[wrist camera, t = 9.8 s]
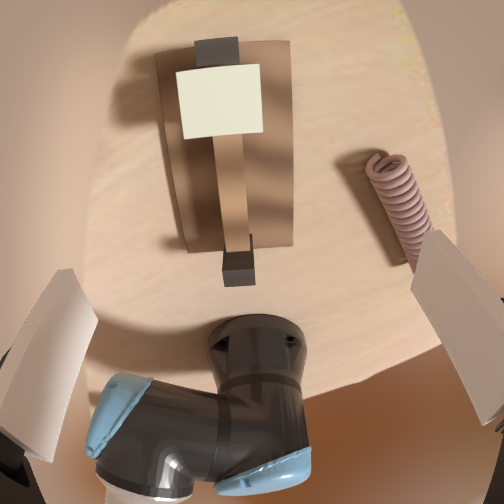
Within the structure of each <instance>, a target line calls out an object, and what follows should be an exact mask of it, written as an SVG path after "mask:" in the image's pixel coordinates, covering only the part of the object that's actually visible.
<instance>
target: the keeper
mask: <svg viewBox="0 0 504 504" xmlns="http://www.w3.org/2000/svg"><path fill="white" fill-rule="evenodd" d="M176 77H177V86H178V95H179V103H180V111H181V119H182V127H183V134H184V139H192V138H200V137H210V136H220V135H231V134H244V133H260V132H263V119H262V101H261V83H260V67H259V64H245V65H232V66H221V67H211V68H202V69H194V70H188V71H181V72H176Z"/></svg>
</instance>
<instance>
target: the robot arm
mask: <svg viewBox="0 0 504 504" xmlns="http://www.w3.org/2000/svg"><path fill="white" fill-rule="evenodd" d="M411 291H412V293H413V294H414V296H415V297H416V299H417V301H418V302H419V304H420V306H421V307H422V309H423V311H424V312H425V314H426V316H427V317H428V319H429V321H430V323H431V324H432V326H433V328H434V330H435V331H436V333H437V335H438V337H439V338H440V340H441V342H442V344H443V345H444V347H445V349H446V351H447V353H448V355H449V357H450V359H451V360H452V363H453V365H454V366H455V368H456V370H457V372H458V374H459V376H460V378H461V380H462V383H463V385H464V387H465V389H466V391H467V393H468V395H469V397H470V399H471V402H472V404H473V406H474V408H475V411H476V413H477V415H478V417H479V420H480V422H481V424H482V426H483V425H485V424H487V423H489V422H491V421H493V420H494V419H496V418H498V417H499V416H500V415H501V414H502V413H503V412H504V298H499V296H498V295H497V294H496V293H495V291H494V290H493V289H492V288H491V286H490V285H489V284H488V283H487V281H486V280H485V279H484V278H483V277H482V276H481V274H480V273H479V272H478V271H477V270H476V269H475V267H474V266H473V265H472V264H471V263H470V262H469V260H468V259H467V258H466V257H465V256H464V255H463V254H462V253H461V252H460V250H459V249H458V248H457V247H456V246H455V245H454V244H453V243H452V242H451V241H450V240H449V239H448V238H447V237H446V236H445V235H444V233H443V232H442V231H441V230H435V231H425V232H424V236H423V241H422V245H421V250H420V254H419V258H418V262H417V266H416V270H415V274H414V278H413V282H412V285H411ZM97 323H98V319H97V317H96V315H95V313H94V311H93V310H92V308H91V306H90V304H89V302H88V300H87V298H86V296H85V294H84V292H83V290H82V288H81V286H80V284H79V282H78V280H77V278H76V276H75V274H74V271H73V269H64V270H57V272H56V273H55V275H54V276H53V278H52V279H51V281H50V282H49V284H48V285H47V287H46V288H45V290H44V291H43V293H42V295H41V296H40V298H39V300H38V301H37V303H36V304H35V306H34V308H33V310H32V311H31V313H30V315H29V316H28V318H27V320H26V321H25V323H24V325H23V327H22V329H21V330H20V332H19V334H18V336H17V338H16V339H15V341H14V343H13V345H12V347H11V348H10V349H9V350H8V351H7V353H6V354H5V355H4V356H3V357H2V359H1V361H0V504H46V503H45V501H44V498H43V496H42V494H41V492H40V489H39V487H38V484H37V482H36V479H35V477H34V474H33V471H32V469H31V466H30V463H29V461H28V459H27V458H26V457H25V456H24V452H25V451H26V452H28V453H29V454H31V455H32V456H34V457H35V458H37V459H41V460H43V461H46V462H50V463H52V462H53V458H54V454H55V450H56V446H57V442H58V438H59V434H60V430H61V427H62V423H63V420H64V417H65V413H66V410H67V406H68V403H69V400H70V397H71V394H72V391H73V388H74V385H75V382H76V378H77V376H78V373H79V370H80V368H81V364H82V362H83V359H84V357H85V354H86V351H87V348H88V346H89V343H90V341H91V338H92V336H93V333H94V331H95V328H96V326H97ZM207 356H208V361H209V364H210V368H211V371H212V374H213V377H214V380H215V383H216V386H217V389H218V393H217V394H214V393H209V392H204V391H200V390H195V389H190V388H186V387H181V386H177V385H173V384H169V383H165V382H161V381H157V380H153V378H151V377H149V378H144V377H140V376H136V375H131V374H127V373H118V374H116V375H114V376H113V377H112V378H111V379H110V380H109V381H108V383H107V384H106V386H105V388H104V390H103V392H102V394H101V396H100V399H99V401H98V403H97V406H96V409H95V411H94V414H93V417H92V420H91V423H90V426H89V430H88V433H87V438H86V446H85V453H86V455H88V456H89V457H91V459H94V460H95V459H97V464H96V475H97V477H98V478H99V479H100V481H101V482H102V483H103V484H104V485H105V486H106V498H105V504H178V503H180V502H182V501H184V500H186V499H188V498H189V497H191V495H192V492H193V485H194V482H195V481H206V482H213V483H215V484H214V489H215V491H216V493H217V494H219V495H228V496H241V495H242V496H243V495H253V494H261V493H267V492H272V491H277V490H281V489H285V488H289V487H292V486H295V485H297V484H300V483H302V482H303V481H305V480H306V479H307V478H308V477H309V475H310V473H311V452H310V451H311V447H310V445H309V438H308V431H307V425H306V418H305V412H304V405H303V398H302V392H301V379H302V375H303V370H304V365H305V361H306V356H307V347H306V342H305V337H304V334H303V332H302V331H301V329H300V328H299V327H298V326H297V325H295V324H294V323H292V322H291V321H289V320H286V319H284V318H281V317H277V316H271V315H248V316H242V317H238V318H235V319H232V320H230V321H227V322H225V323H223V324H222V325H220V326H219V327H218V328H216V329H215V330H214V332H213V333H212V334H211V336H210V338H209V341H208V352H207ZM503 426H504V419H503V420H502V421H501V422H500V423H499V424H498V425H497V427H496V429H495V432H498V431H499V430H500V429H501V428H502V427H503ZM501 433H502V434H503V439H502V443H501V448H500V452H499V455H498V459H497V463H496V466H495V470H494V473H493V476H492V480H491V483H490V486H489V489H488V492H487V495H486V497H485V500H484V502H483V504H504V429H503V430H502V431H501Z"/></svg>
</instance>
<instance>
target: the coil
mask: <svg viewBox="0 0 504 504" xmlns="http://www.w3.org/2000/svg"><path fill="white" fill-rule="evenodd" d="M380 159H381V157H380V155H379V154H378V153H376V154H374V155H373V156H372V157H371V158H370V159H369V161H368V162H367V164H366V168H365V171H366V174H367V176H368V177H369V178H370V182H371V183H372V185H373V186H374V189H375V191H376V192H377V195H378V197H379V199H380V200H381V203H382V205H383V206H384V209H385V211H386V213H387V215H388V218H389V219H390V221H391V224H392V225H393V228H394V230H395V232H396V235H397V237H398V238H399V241H400V243H401V246H402V248H403V250H404V253H405V255H406V258H407V259H408V262H409V264H410V267H411V269H412V272H413V274H415V270H416V266H417V262H418V258H419V254H420V250H421V245H422V241H423V236H424V232H425V231H434V228H433V227H432V222H431V221H430V216H429V215H428V211H427V209H426V205H425V203H424V201H423V197H422V195H421V192H420V189H419V188H418V184H417V182H416V180H415V177H414V174H413V173H412V170H411V167H410V166H409V165H408V160H407V158H406V157H405V156H403V155H390V156H388V157H385V158H383V159H382V160H380ZM379 160H380V161H379ZM377 161H379V162H378V163H376V162H377ZM393 162H396V163H393ZM390 163H392V164H390ZM388 164H390V165H388ZM386 165H388V166H386ZM373 166H374V167H373ZM384 166H386V167H384ZM383 167H384V168H383ZM382 168H383V169H382ZM381 169H382V170H381ZM395 178H396V179H395ZM393 179H394V180H393ZM402 184H403V185H402ZM397 186H398V187H397ZM395 187H396V188H395ZM393 188H394V189H393Z"/></svg>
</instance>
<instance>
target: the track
mask: <svg viewBox="0 0 504 504" xmlns="http://www.w3.org/2000/svg"><path fill="white" fill-rule="evenodd" d="M194 44H195V47H191V48H185V49H178V50H172V51H167V52H162V53H156V54H155V55H156V64H157V73H158V82H159V90H160V97H161V105H162V112H163V119H164V126H165V133H166V139H167V145H168V152H169V158H170V164H171V169H172V175H173V181H174V186H175V192H176V197H177V203H178V208H179V213H180V218H181V223H182V228H183V233H184V238H185V242H186V247H187V252H188V253H198V252H212V251H224V252H223V266H222V273H223V280H224V286H225V287H235V286H251V285H255V269H254V253H253V249H256V248H271V247H286V246H293V115H292V83H291V59H290V41H254V42H238V37H225V38H215V39H207V40H199V41H194ZM245 64H259V67H260V83H261V101H262V119H263V132H260V133H244V134H231V135H220V136H210V137H200V138H192V139H184V134H183V127H182V119H181V111H180V103H179V95H178V86H177V77H176V72H181V71H188V70H194V69H202V68H211V67H221V66H232V65H245Z"/></svg>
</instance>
